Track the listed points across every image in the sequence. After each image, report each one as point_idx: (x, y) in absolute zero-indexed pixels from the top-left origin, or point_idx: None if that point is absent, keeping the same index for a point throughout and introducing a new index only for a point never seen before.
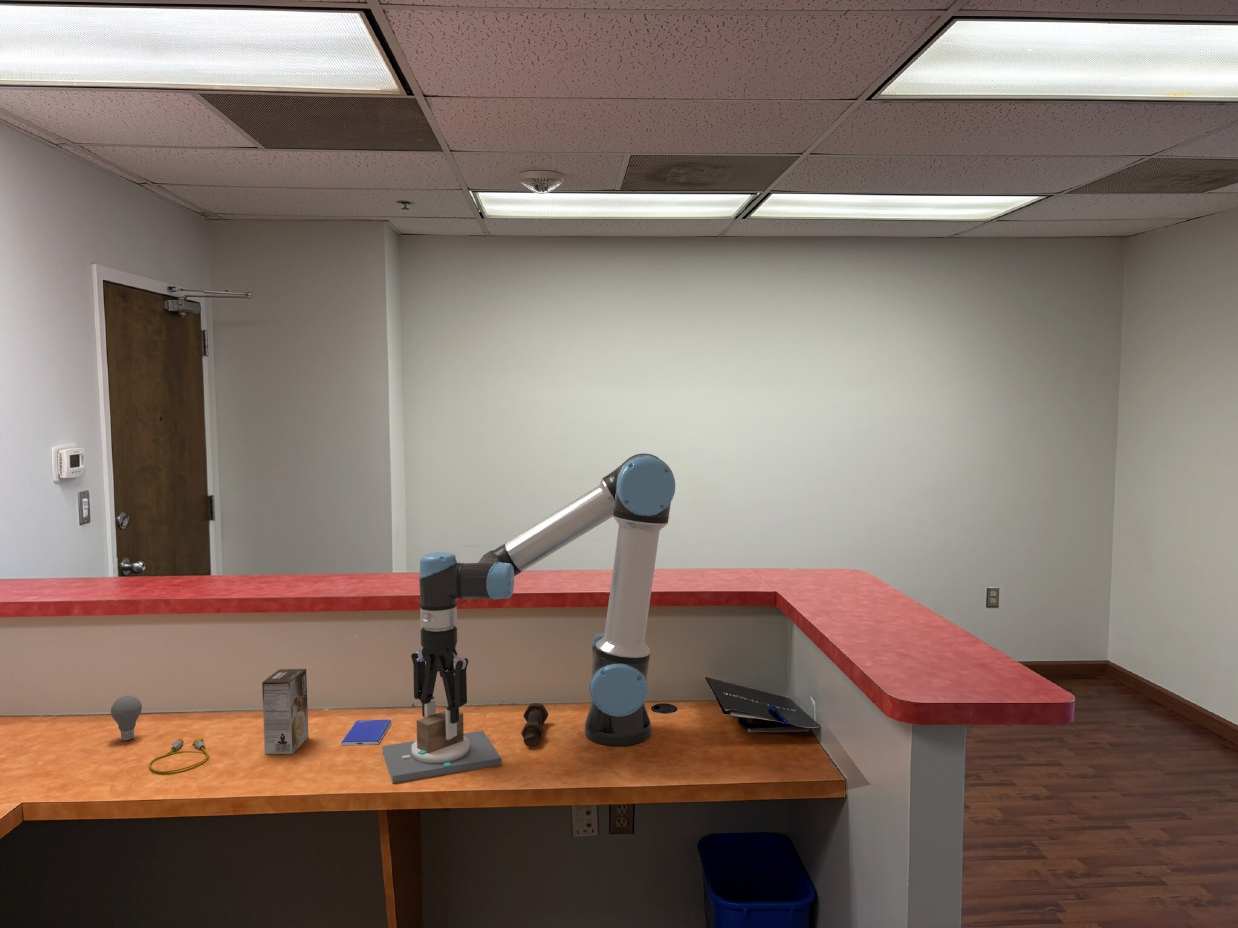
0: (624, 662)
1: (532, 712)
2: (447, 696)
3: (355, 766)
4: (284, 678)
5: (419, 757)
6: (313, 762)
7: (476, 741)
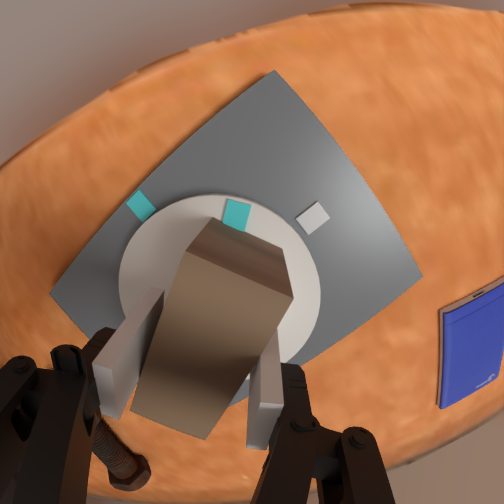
0: None
1: (117, 470)
2: (63, 421)
3: (441, 163)
4: None
5: (244, 199)
6: None
7: None
